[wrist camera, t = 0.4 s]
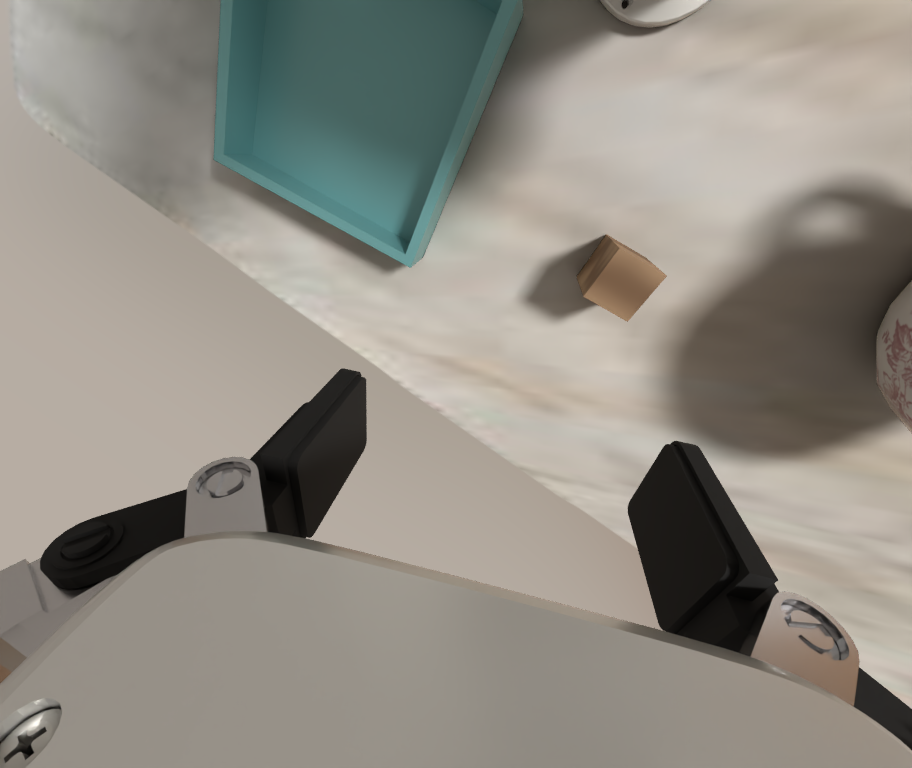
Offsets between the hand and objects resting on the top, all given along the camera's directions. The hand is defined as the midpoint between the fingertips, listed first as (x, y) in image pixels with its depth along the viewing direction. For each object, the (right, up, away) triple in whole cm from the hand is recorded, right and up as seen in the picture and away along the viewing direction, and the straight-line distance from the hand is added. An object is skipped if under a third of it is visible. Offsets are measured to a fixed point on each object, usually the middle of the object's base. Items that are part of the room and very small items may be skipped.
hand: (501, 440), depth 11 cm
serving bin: (-10, +30, +23) cm, 39 cm away
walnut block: (+15, +14, +27) cm, 34 cm away
